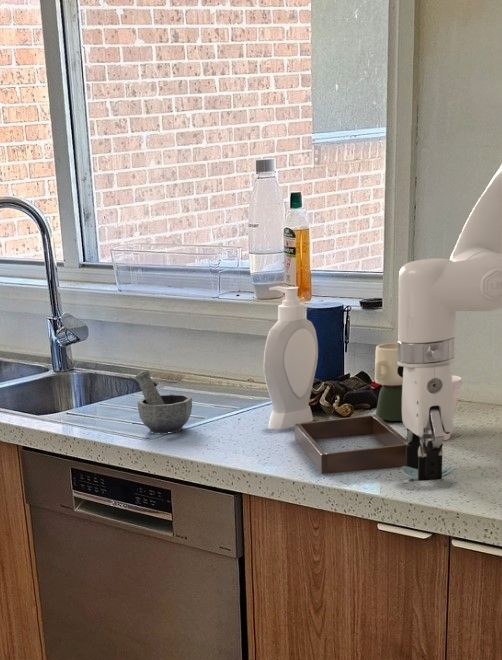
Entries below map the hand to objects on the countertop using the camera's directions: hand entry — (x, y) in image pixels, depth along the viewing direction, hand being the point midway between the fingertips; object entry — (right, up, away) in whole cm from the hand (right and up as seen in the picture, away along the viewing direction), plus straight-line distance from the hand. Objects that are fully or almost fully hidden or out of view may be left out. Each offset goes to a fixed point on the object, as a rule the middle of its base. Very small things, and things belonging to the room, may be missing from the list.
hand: (423, 475), depth 178 cm
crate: (-4, +7, +20) cm, 22 cm away
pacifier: (0, -1, 0) cm, 2 cm away
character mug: (+9, +16, +37) cm, 41 cm away
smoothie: (+11, +10, +22) cm, 27 cm away
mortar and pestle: (-30, +16, +49) cm, 60 cm away
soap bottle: (-9, +16, +44) cm, 48 cm away
